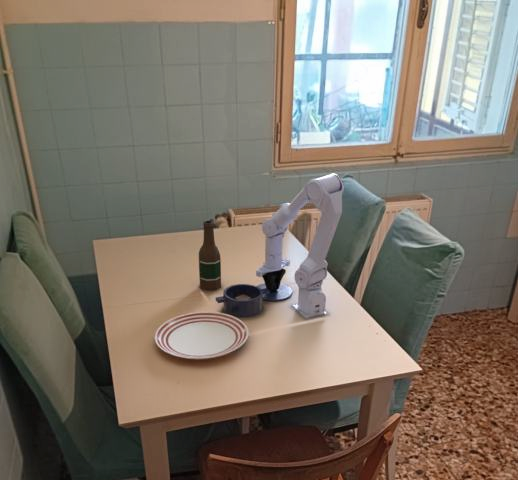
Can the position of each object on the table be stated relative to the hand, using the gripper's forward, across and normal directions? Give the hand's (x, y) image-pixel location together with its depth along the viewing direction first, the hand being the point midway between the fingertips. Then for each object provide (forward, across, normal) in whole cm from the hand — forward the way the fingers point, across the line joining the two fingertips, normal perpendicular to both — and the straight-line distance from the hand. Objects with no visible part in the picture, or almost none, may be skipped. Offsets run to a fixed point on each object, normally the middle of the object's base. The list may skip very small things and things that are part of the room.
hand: (272, 290), depth 195 cm
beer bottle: (+2, +12, -19) cm, 22 cm away
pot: (+2, +16, +2) cm, 16 cm away
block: (+1, +16, +2) cm, 16 cm away
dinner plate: (+2, +38, +8) cm, 39 cm away
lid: (+1, 0, 0) cm, 1 cm away
